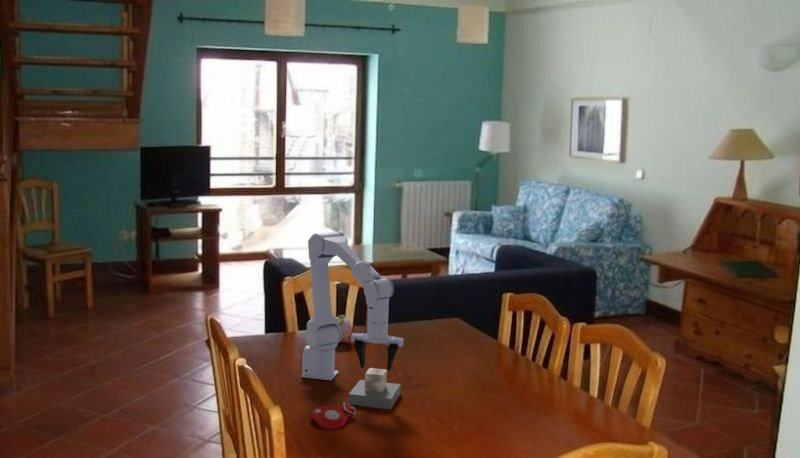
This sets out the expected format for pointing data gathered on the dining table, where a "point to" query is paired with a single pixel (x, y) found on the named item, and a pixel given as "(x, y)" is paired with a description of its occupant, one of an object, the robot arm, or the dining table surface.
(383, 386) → the cream cube
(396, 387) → the gray base
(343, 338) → the decorative fruit
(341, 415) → the tracker holder
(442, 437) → the dining table surface
